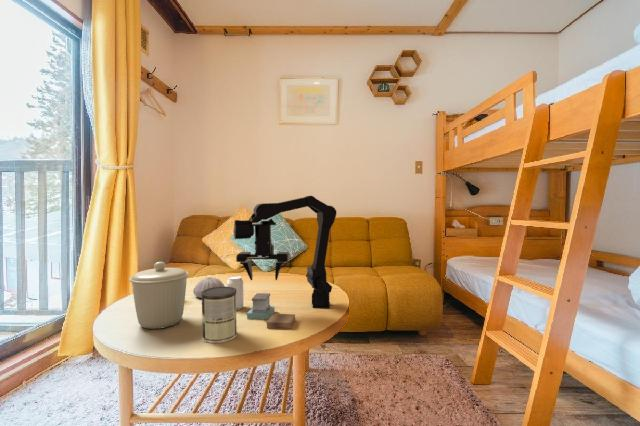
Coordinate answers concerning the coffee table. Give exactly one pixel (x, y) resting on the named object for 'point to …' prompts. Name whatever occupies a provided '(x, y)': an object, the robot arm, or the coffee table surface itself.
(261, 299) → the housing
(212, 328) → the coffee can
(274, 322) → the brown flat square block
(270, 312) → the stand
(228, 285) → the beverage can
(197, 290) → the sea urchin shell
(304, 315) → the coffee table surface
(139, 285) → the canister
